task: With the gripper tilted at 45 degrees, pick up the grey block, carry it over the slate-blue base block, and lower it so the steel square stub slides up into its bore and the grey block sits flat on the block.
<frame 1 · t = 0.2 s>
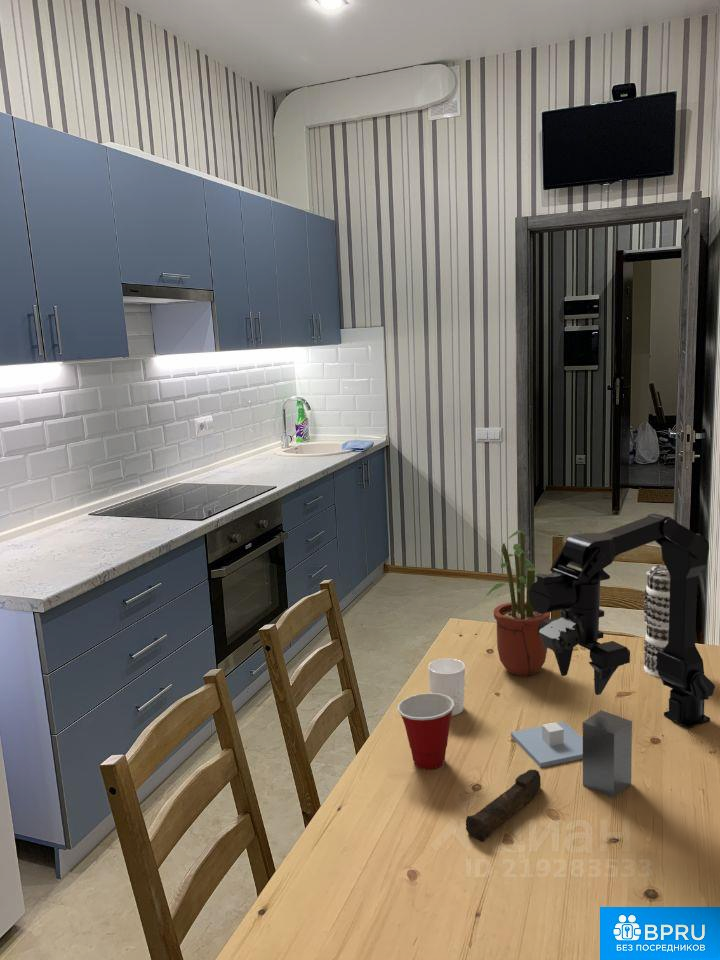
hand: (580, 684, 141), 14 cm above the table, tool pointing down, fingers open, 9 cm apart
white cup: (448, 709, 164), on the table
base block: (552, 748, 148), on the table
potted plant: (515, 667, 183), on the table
decorative candle: (662, 671, 177), on the table
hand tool: (506, 813, 128), on the table
grey block: (606, 784, 134), on the table
plastic cup: (427, 762, 144), on the table
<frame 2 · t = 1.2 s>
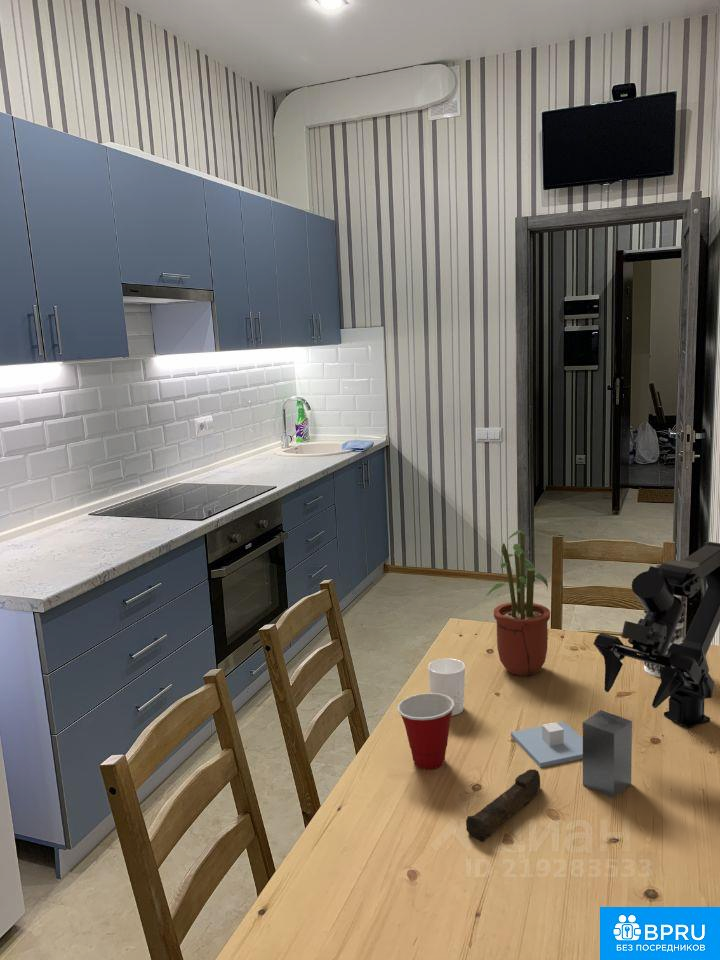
hand: (629, 699, 137), 13 cm above the table, tool tilted 45°, fingers open, 9 cm apart
nothing on the table moved.
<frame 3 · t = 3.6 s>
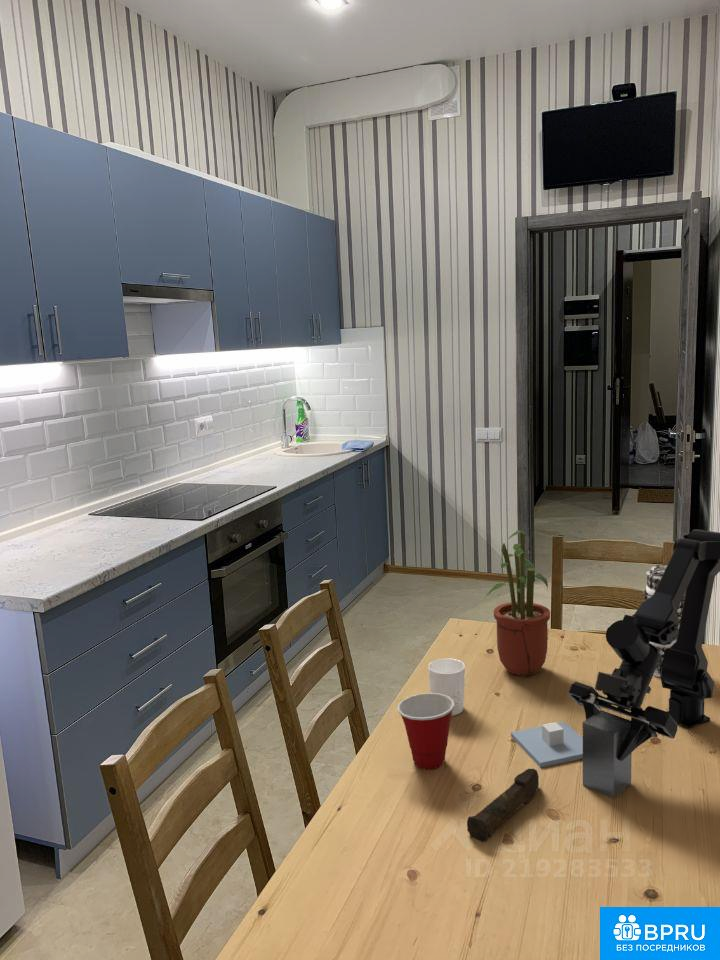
hand: (602, 753, 132), 7 cm above the table, tool tilted 45°, fingers closed on grey block, 6 cm apart
grey block: (606, 784, 134), on the table, touching gripper
everything else where it was.
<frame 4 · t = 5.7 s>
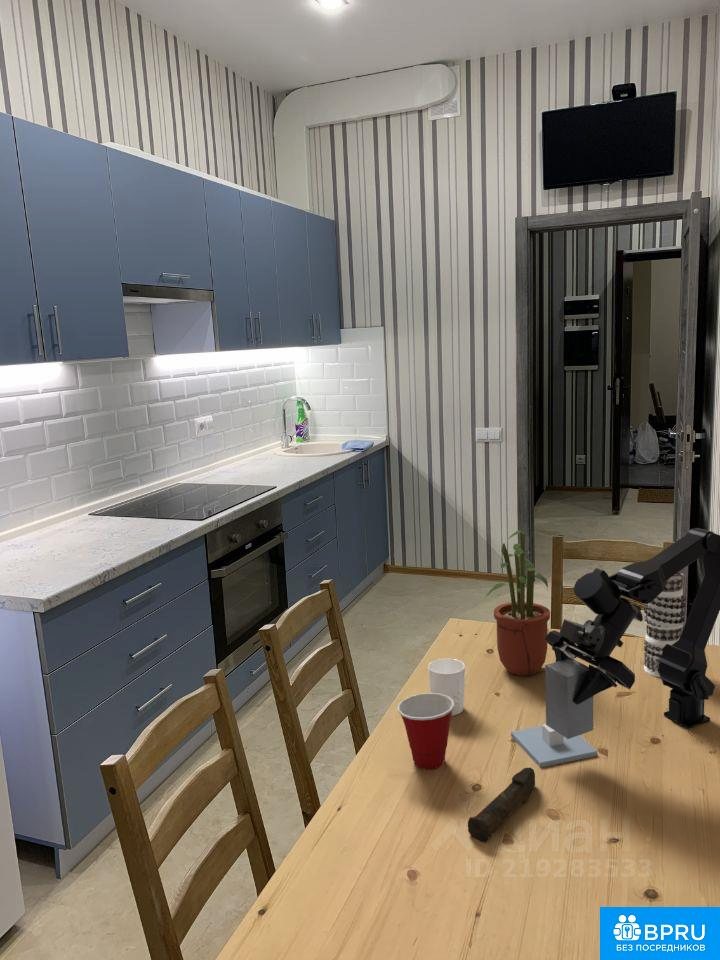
hand: (563, 696, 139), 13 cm above the table, tool tilted 45°, fingers closed on grey block, 6 cm apart
grey block: (569, 727, 141), point 7 cm above the table, touching gripper
everything else where it was.
when the fingers open (9 cm above the table, at t = 8.2 s): grey block drops 2 cm, resting on base block.
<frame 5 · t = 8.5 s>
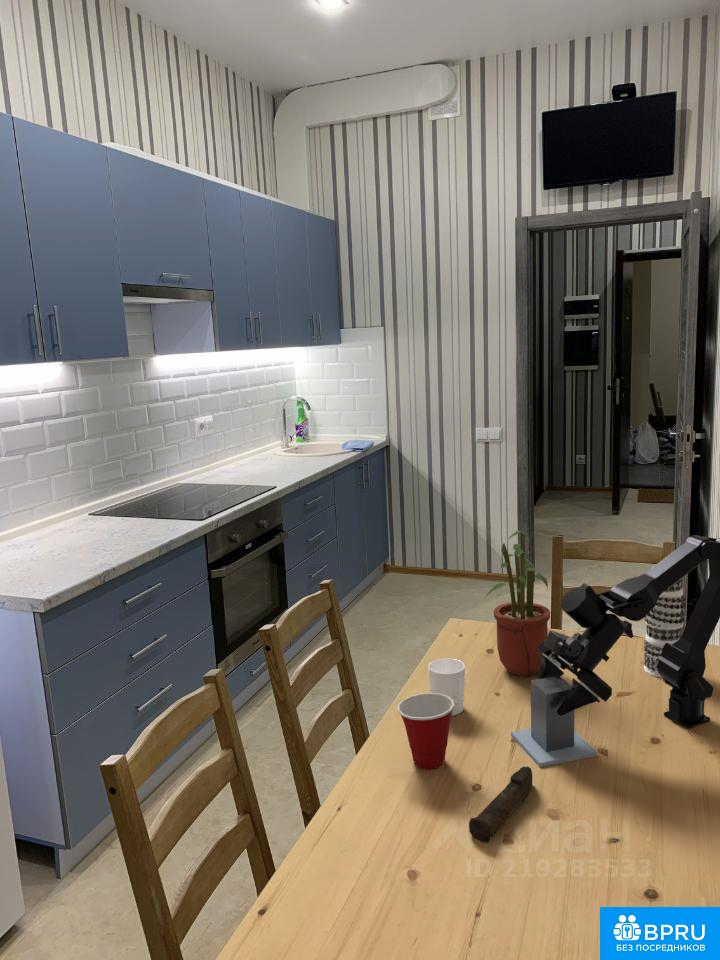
hand: (545, 703, 146), 9 cm above the table, tool tilted 45°, fingers open, 9 cm apart
base block: (552, 748, 148), on the table, touching grey block
grey block: (552, 741, 147), point 1 cm above the table, touching base block
everything else where it was.
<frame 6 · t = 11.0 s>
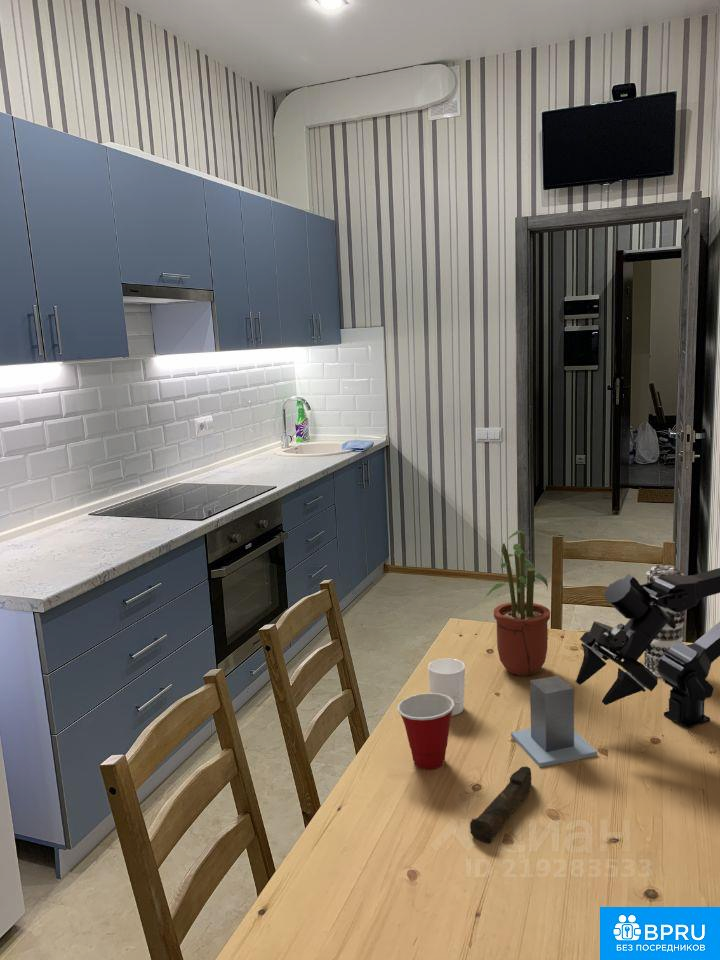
hand: (590, 693, 148), 10 cm above the table, tool tilted 45°, fingers open, 9 cm apart
nothing on the table moved.
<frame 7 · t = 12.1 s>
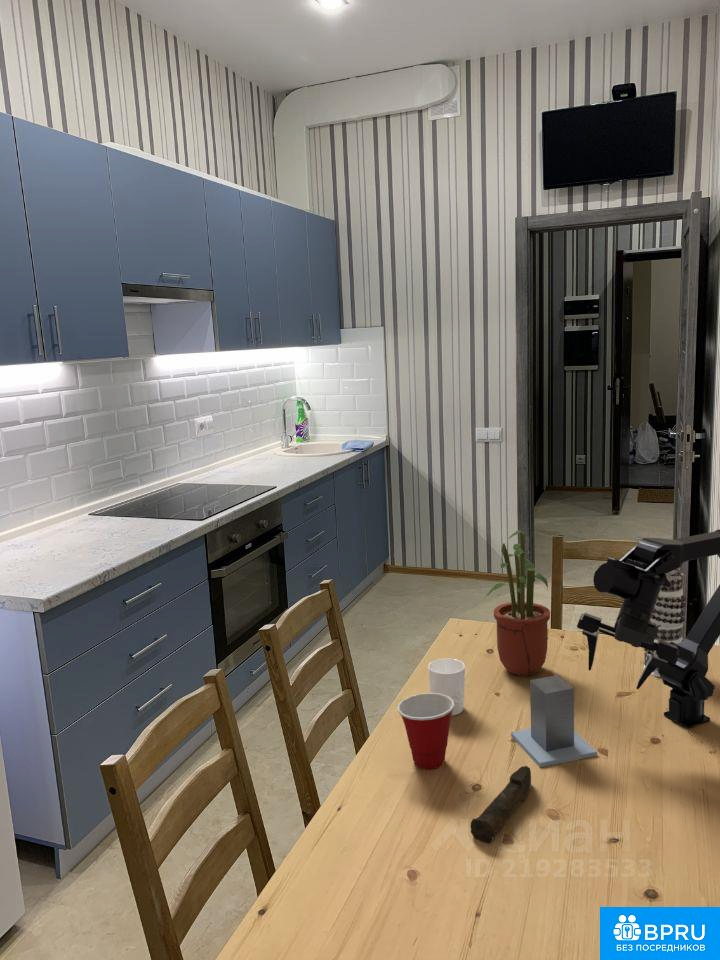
hand: (613, 679, 146), 13 cm above the table, tool tilted 20°, fingers open, 9 cm apart
nothing on the table moved.
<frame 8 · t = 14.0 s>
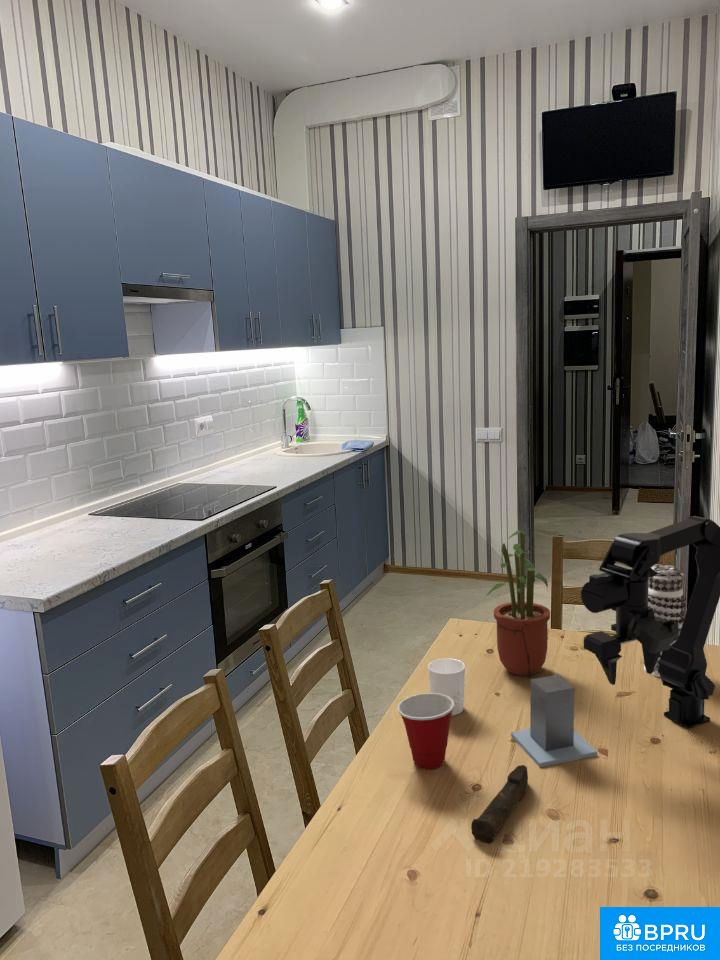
hand: (630, 678, 145), 13 cm above the table, tool pointing down, fingers open, 9 cm apart
base block: (552, 748, 148), on the table
grey block: (551, 740, 147), point 1 cm above the table
at the end: grey block 0.2 cm off-centre on the base block, point 1.5 cm above the base block's base; grey block tilted 1°; the gripper is holding nothing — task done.
